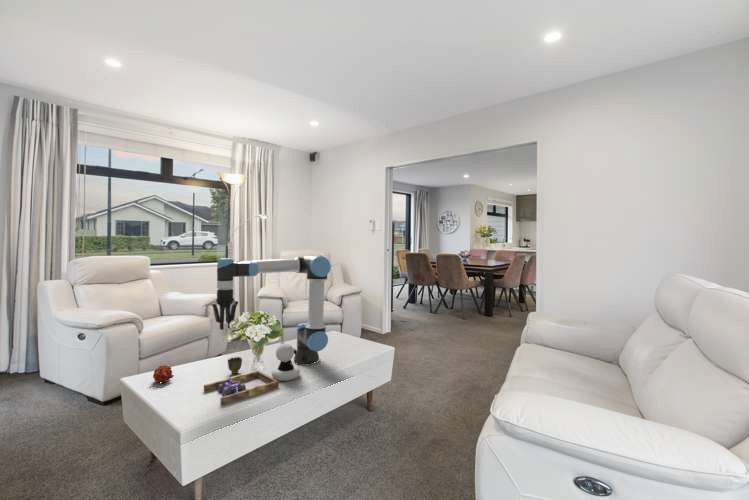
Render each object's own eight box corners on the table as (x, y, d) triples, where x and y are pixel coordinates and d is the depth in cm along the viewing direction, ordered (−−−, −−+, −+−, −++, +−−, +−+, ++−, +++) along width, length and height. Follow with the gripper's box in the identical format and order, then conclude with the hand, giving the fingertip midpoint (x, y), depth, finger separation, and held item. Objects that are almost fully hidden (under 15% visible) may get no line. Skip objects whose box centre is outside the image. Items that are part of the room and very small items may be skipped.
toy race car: (234, 385, 175) (234, 372, 175) (246, 395, 164) (246, 381, 164) (214, 390, 169) (214, 377, 169) (225, 401, 158) (225, 386, 158)
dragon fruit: (163, 380, 184) (165, 391, 175) (148, 373, 180) (149, 384, 170) (174, 366, 186) (177, 376, 177) (159, 359, 182) (161, 369, 172)
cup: (225, 373, 191) (225, 358, 191) (238, 370, 196) (238, 355, 196) (230, 376, 186) (231, 361, 186) (244, 373, 191) (244, 358, 191)
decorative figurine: (305, 377, 186) (305, 340, 186) (280, 384, 176) (280, 345, 176) (291, 370, 197) (291, 334, 197) (266, 376, 187) (267, 339, 187)
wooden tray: (258, 376, 187) (258, 369, 187) (278, 387, 173) (278, 380, 173) (203, 391, 167) (203, 384, 167) (221, 405, 153) (221, 397, 153)
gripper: (235, 287, 184) (234, 331, 184) (208, 289, 174) (207, 336, 174) (241, 288, 179) (241, 334, 179) (214, 290, 169) (213, 339, 169)
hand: (224, 335), depth 177 cm, fingers closed
